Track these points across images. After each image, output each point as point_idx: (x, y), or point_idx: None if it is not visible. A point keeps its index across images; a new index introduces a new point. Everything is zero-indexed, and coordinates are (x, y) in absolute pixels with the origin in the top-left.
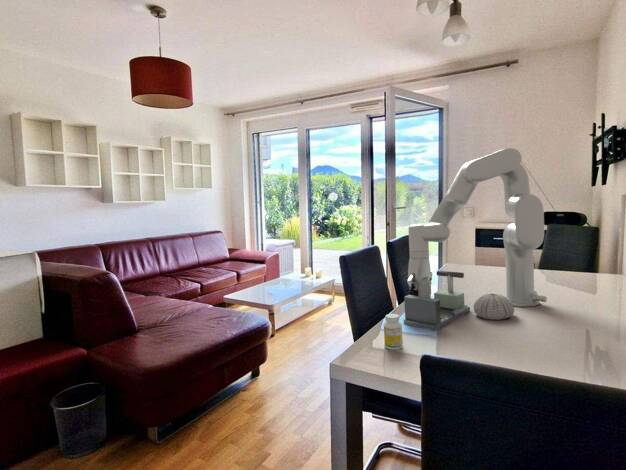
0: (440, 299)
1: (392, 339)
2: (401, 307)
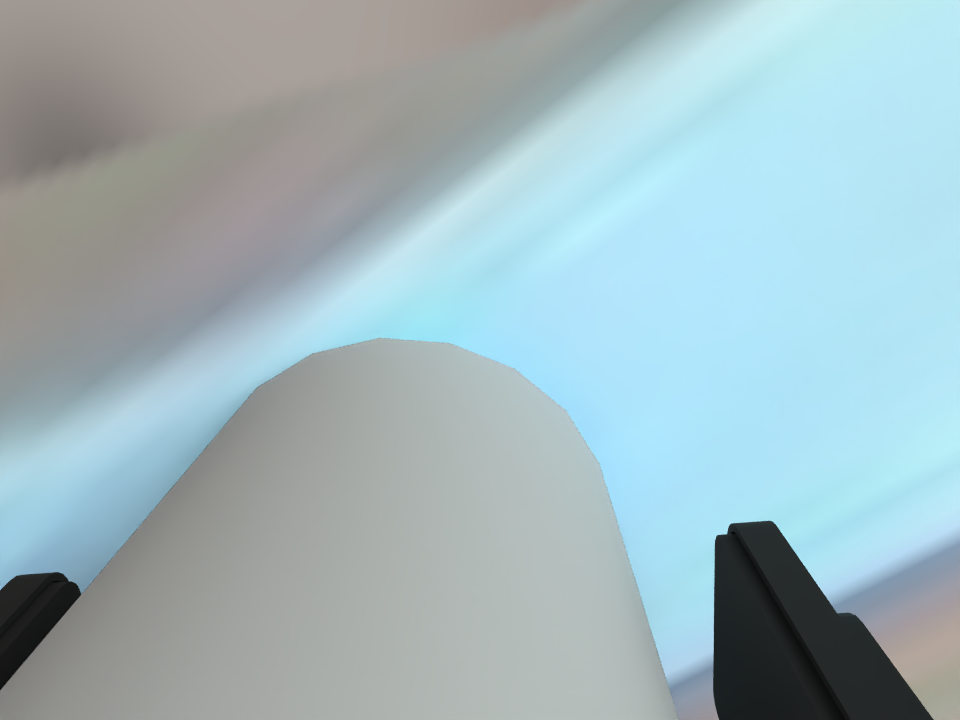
0: None
1: None
2: (40, 244)
